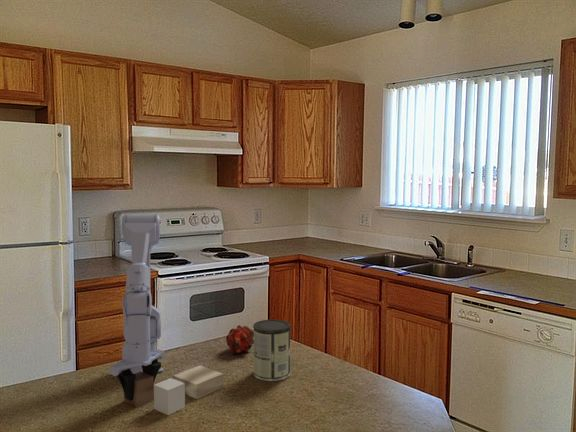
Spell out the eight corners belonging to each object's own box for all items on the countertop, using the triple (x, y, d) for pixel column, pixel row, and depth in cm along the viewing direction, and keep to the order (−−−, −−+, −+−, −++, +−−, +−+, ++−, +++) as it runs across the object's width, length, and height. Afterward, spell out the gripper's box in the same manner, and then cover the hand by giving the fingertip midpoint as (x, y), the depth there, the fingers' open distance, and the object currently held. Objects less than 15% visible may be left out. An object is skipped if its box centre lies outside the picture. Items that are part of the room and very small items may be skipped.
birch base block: (173, 390, 133) (173, 375, 133) (200, 379, 140) (199, 365, 140) (196, 400, 128) (196, 384, 127) (223, 388, 135) (223, 373, 134)
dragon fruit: (248, 349, 168) (237, 367, 157) (227, 333, 168) (215, 350, 157) (263, 330, 165) (252, 348, 154) (241, 314, 166) (229, 331, 154)
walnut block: (124, 401, 126) (123, 377, 125) (141, 394, 130) (140, 371, 129) (136, 407, 123) (136, 382, 122) (153, 400, 127) (153, 376, 126)
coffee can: (264, 364, 150) (265, 317, 149) (296, 371, 146) (297, 322, 144) (246, 377, 141) (246, 326, 140) (279, 384, 137) (279, 332, 135)
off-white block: (154, 409, 122) (154, 384, 121) (171, 401, 126) (170, 378, 125) (168, 415, 119) (168, 390, 118) (184, 407, 123) (184, 383, 122)
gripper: (122, 352, 117) (123, 410, 118) (172, 336, 128) (173, 389, 130) (104, 346, 121) (105, 401, 122) (154, 331, 133) (154, 382, 134)
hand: (138, 395), depth 126 cm, fingers closed on walnut block, 5 cm apart
